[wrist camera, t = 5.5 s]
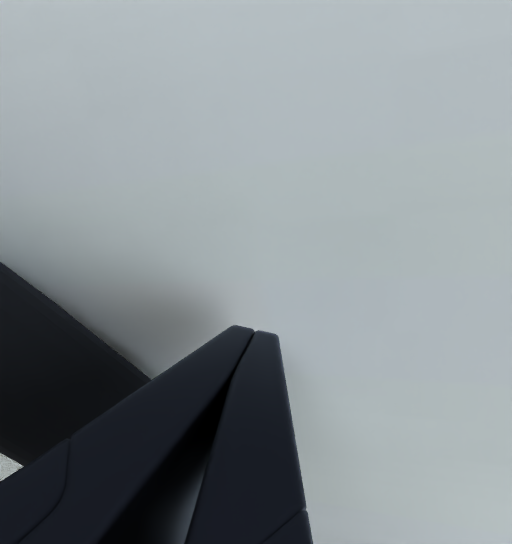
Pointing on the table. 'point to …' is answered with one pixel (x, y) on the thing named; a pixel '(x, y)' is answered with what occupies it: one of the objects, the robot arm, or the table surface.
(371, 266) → the table surface
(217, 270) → the table surface
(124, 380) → the electric trimmer
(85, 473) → the robot arm
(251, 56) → the table surface
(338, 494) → the table surface
